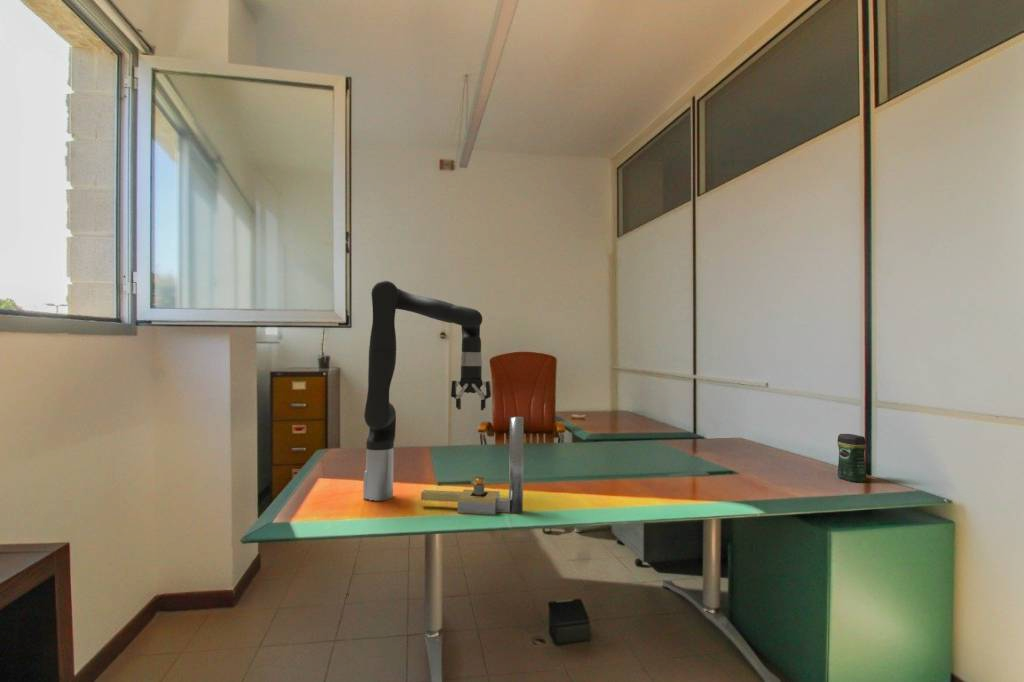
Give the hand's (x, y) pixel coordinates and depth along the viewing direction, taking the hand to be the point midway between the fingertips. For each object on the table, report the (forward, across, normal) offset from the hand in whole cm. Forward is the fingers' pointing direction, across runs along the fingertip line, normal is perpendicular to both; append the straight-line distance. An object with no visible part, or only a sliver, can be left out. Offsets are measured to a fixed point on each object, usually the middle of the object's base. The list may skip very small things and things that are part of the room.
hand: (470, 409), depth 182 cm
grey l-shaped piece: (+30, +5, -17) cm, 35 cm away
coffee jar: (+30, +149, +46) cm, 159 cm away
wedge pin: (+30, +7, -17) cm, 35 cm away
